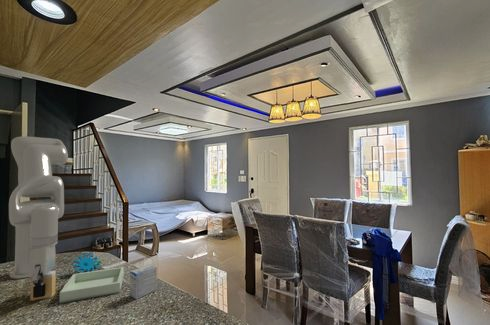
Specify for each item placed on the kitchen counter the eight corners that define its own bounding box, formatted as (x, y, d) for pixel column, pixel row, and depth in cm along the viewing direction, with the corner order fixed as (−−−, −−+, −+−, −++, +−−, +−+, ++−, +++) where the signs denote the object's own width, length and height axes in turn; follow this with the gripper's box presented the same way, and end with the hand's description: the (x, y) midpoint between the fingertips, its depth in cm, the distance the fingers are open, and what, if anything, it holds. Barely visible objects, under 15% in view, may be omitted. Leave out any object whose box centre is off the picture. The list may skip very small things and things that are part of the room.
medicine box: (149, 287, 91) (149, 264, 91) (156, 290, 88) (157, 266, 88) (129, 296, 84) (129, 271, 84) (136, 299, 82) (136, 274, 82)
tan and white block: (34, 295, 85) (35, 273, 86) (55, 292, 87) (55, 270, 88) (30, 300, 82) (30, 277, 82) (51, 297, 84) (52, 273, 85)
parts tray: (73, 283, 95) (73, 274, 95) (124, 275, 102) (124, 266, 102) (59, 303, 80) (59, 292, 80) (119, 292, 87) (119, 282, 87)
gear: (74, 275, 98) (73, 253, 104) (70, 282, 100) (69, 261, 106) (103, 270, 106) (101, 250, 112) (99, 278, 108) (97, 258, 114)
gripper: (41, 236, 92) (40, 284, 91) (18, 249, 76) (17, 307, 75) (64, 234, 95) (64, 280, 94) (47, 246, 79) (46, 302, 78)
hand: (43, 291), depth 85 cm, fingers open, 5 cm apart
